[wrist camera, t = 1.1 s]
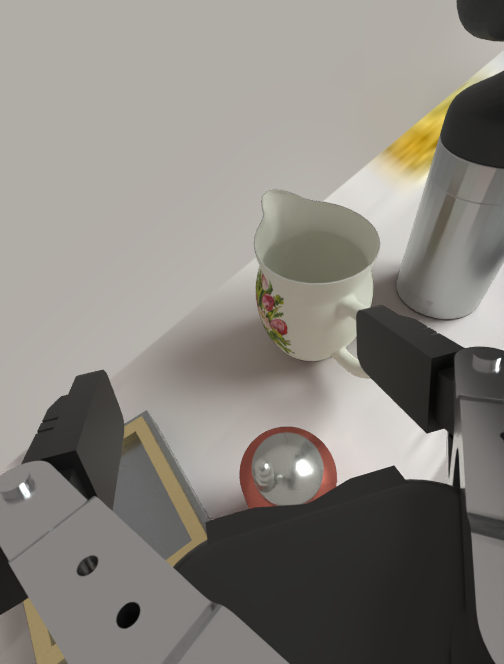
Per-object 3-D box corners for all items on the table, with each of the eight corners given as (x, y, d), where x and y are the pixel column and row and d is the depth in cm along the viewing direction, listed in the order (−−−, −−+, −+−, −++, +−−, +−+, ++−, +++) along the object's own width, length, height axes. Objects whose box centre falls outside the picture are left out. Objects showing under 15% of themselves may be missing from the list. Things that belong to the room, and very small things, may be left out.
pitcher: (318, 434, 34) (329, 347, 23) (235, 309, 44) (216, 209, 34) (413, 382, 36) (462, 281, 26) (313, 275, 47) (318, 172, 36)
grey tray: (156, 424, 36) (142, 404, 33) (233, 561, 28) (225, 553, 25) (-13, 530, 31) (-48, 519, 28) (25, 728, 24) (-19, 746, 20)
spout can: (295, 466, 32) (295, 378, 21) (339, 524, 29) (368, 459, 18) (242, 506, 31) (209, 436, 19) (283, 572, 28) (274, 536, 16)
